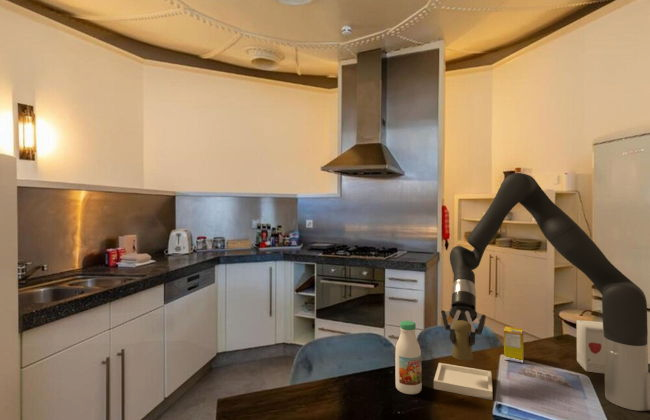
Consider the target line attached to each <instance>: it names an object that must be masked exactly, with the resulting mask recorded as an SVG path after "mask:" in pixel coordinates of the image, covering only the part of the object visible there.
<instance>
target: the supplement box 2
mask: <svg viewBox="0 0 650 420" xmlns="http://www.w3.org/2000/svg"><path fill="white" fill-rule="evenodd" d="M576 361H577V363H578V364H579V365H580V366H581V367H582V369H583V370H584V371H585V372H588V373H589V372H590V373H596V374H597V373H598V374H604V375H605V367H604V331H603V321H595V320H582V319H580V320H579V319H576Z"/></svg>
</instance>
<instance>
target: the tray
mask: <svg viewBox="0 0 650 420" xmlns="http://www.w3.org/2000/svg"><path fill="white" fill-rule="evenodd" d="M492 379H493V378H492V371H491V370H487V369H486V370H485V369H480V368H473V367H467V366H460V365H455V364H449V363H442V362H438V364H437V368H436V371H435V375H434V378H433V389H434V390H439V391H444V392H448V393H449V392H450V393H452V394H453V393H454V394H457V395H463V396H470V397H474V398H479V399H484V400H489V401H493V380H492Z"/></svg>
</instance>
